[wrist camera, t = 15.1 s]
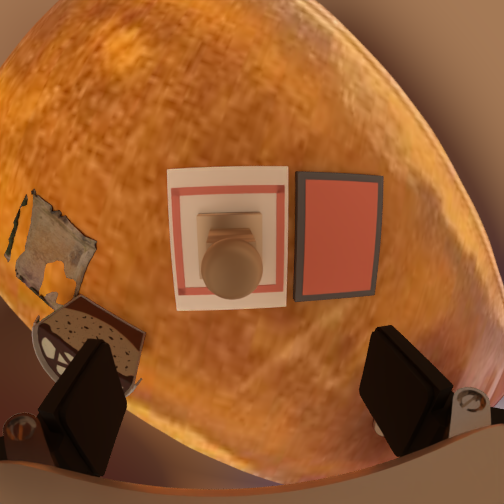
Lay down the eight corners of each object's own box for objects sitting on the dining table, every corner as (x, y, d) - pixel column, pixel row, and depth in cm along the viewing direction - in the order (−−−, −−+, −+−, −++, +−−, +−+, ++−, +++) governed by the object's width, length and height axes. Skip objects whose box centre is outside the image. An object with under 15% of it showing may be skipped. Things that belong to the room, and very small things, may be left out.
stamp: (259, 211, 29) (279, 231, 18) (259, 269, 30) (278, 318, 20) (198, 213, 28) (183, 234, 18) (201, 271, 30) (190, 321, 19)
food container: (60, 324, 31) (22, 364, 21) (71, 287, 30) (28, 324, 20) (139, 371, 34) (120, 424, 24) (156, 338, 33) (137, 391, 23)
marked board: (286, 166, 29) (288, 166, 28) (284, 302, 33) (286, 307, 32) (168, 169, 28) (166, 169, 27) (178, 306, 32) (176, 311, 31)
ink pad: (379, 176, 30) (384, 176, 29) (370, 292, 34) (375, 295, 33) (295, 171, 29) (298, 171, 28) (293, 298, 33) (295, 302, 32)
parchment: (30, 184, 27) (26, 184, 26) (104, 243, 30) (101, 245, 29) (3, 263, 29) (-1, 265, 28) (68, 320, 31) (65, 323, 30)
